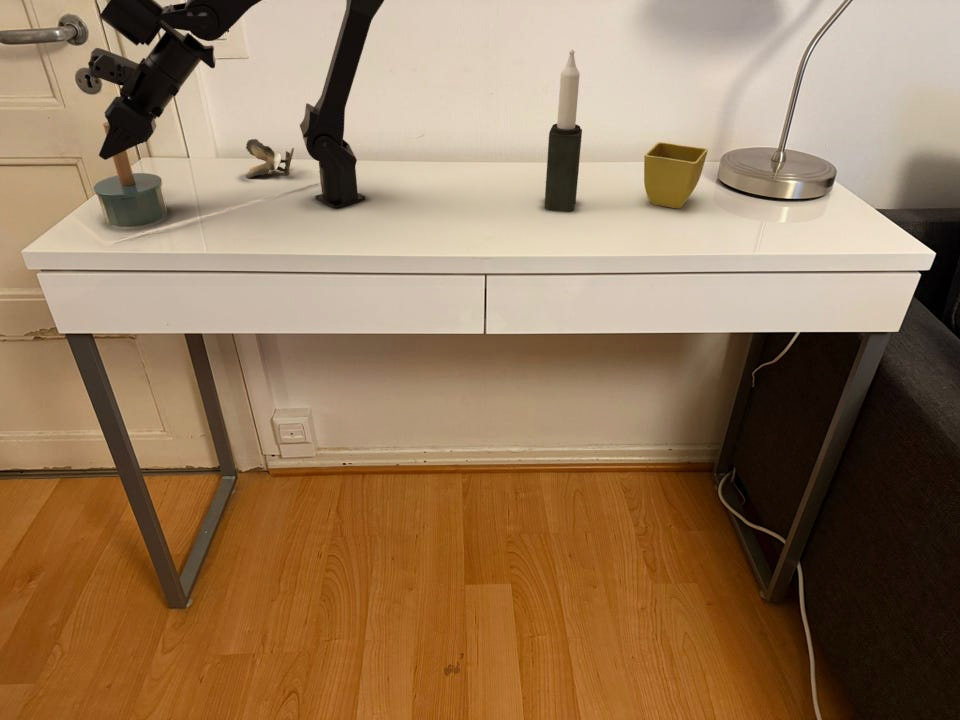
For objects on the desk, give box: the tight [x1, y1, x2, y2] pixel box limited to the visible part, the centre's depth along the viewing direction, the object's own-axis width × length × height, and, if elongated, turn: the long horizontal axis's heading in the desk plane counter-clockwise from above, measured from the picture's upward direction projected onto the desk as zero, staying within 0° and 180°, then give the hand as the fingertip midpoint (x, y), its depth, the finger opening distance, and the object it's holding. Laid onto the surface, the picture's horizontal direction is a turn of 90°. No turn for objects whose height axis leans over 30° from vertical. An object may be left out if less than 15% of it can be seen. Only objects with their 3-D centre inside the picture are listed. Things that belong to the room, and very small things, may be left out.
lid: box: [92, 121, 163, 199], centre depth 108 cm, size 10×10×11 cm
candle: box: [544, 48, 583, 213], centre depth 113 cm, size 5×5×25 cm
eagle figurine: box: [245, 138, 295, 179], centre depth 129 cm, size 8×7×9 cm
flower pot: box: [643, 141, 709, 209], centre depth 119 cm, size 9×9×9 cm
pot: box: [97, 186, 168, 228], centre depth 112 cm, size 9×9×5 cm
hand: (107, 148), depth 106 cm, fingers open, 9 cm apart
